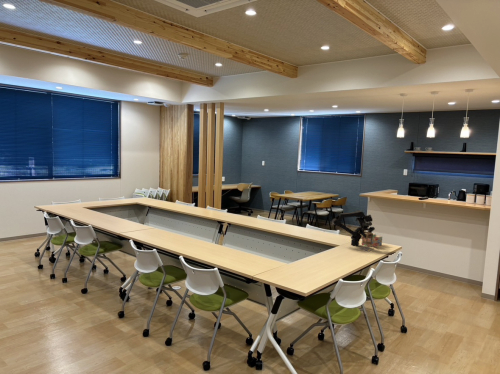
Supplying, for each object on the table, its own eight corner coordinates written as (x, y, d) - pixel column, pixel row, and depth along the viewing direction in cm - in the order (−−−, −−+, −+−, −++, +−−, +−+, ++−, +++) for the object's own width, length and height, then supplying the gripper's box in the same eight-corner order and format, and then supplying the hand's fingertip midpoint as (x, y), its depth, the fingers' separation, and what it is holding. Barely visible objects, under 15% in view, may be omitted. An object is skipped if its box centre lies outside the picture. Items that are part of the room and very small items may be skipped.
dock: (359, 250, 330) (359, 248, 329) (364, 247, 339) (364, 246, 339) (368, 252, 324) (368, 250, 324) (373, 249, 333) (373, 248, 333)
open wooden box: (362, 243, 333) (363, 231, 331) (367, 242, 335) (368, 231, 334) (366, 244, 327) (367, 233, 326) (371, 244, 329) (373, 233, 328)
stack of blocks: (376, 243, 358) (378, 232, 356) (381, 245, 352) (382, 233, 351) (361, 245, 348) (362, 233, 346) (366, 247, 342) (367, 234, 341)
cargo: (363, 242, 332) (364, 238, 331) (367, 242, 333) (367, 238, 333) (366, 243, 328) (367, 239, 328) (370, 243, 330) (370, 239, 329)
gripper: (358, 218, 328) (365, 233, 320) (374, 218, 335) (381, 232, 326) (352, 225, 337) (358, 239, 328) (368, 224, 343) (374, 238, 334)
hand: (368, 237), depth 329 cm, fingers closed on open wooden box, 6 cm apart
